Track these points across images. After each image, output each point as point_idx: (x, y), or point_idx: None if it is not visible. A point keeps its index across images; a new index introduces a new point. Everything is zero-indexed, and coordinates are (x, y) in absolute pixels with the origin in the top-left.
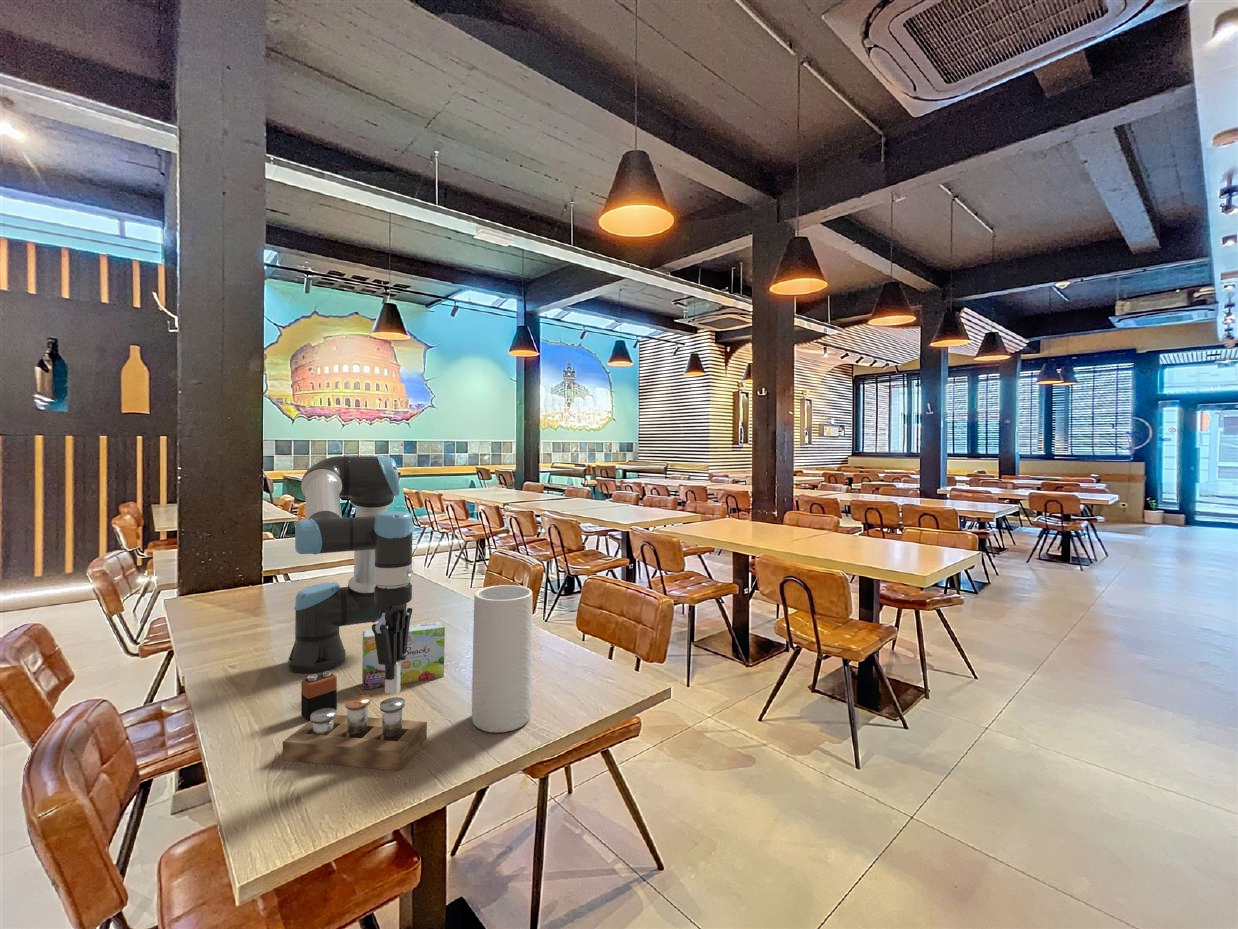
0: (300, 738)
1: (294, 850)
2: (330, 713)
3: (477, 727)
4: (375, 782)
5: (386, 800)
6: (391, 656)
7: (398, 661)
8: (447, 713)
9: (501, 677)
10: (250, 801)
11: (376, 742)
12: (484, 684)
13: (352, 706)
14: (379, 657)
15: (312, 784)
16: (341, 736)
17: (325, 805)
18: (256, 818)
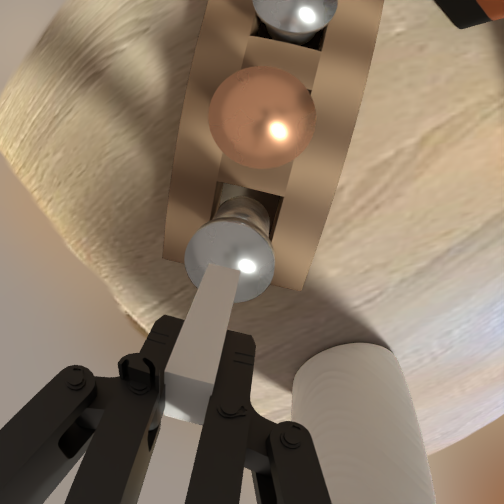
0: None
1: (12, 149)
2: (294, 17)
3: (319, 353)
4: (138, 201)
5: (97, 236)
6: (84, 448)
7: (199, 420)
8: (405, 290)
9: None
10: (97, 2)
11: (201, 189)
12: None
13: (209, 113)
14: (36, 406)
15: (133, 75)
16: None
17: (78, 137)
18: (57, 46)
